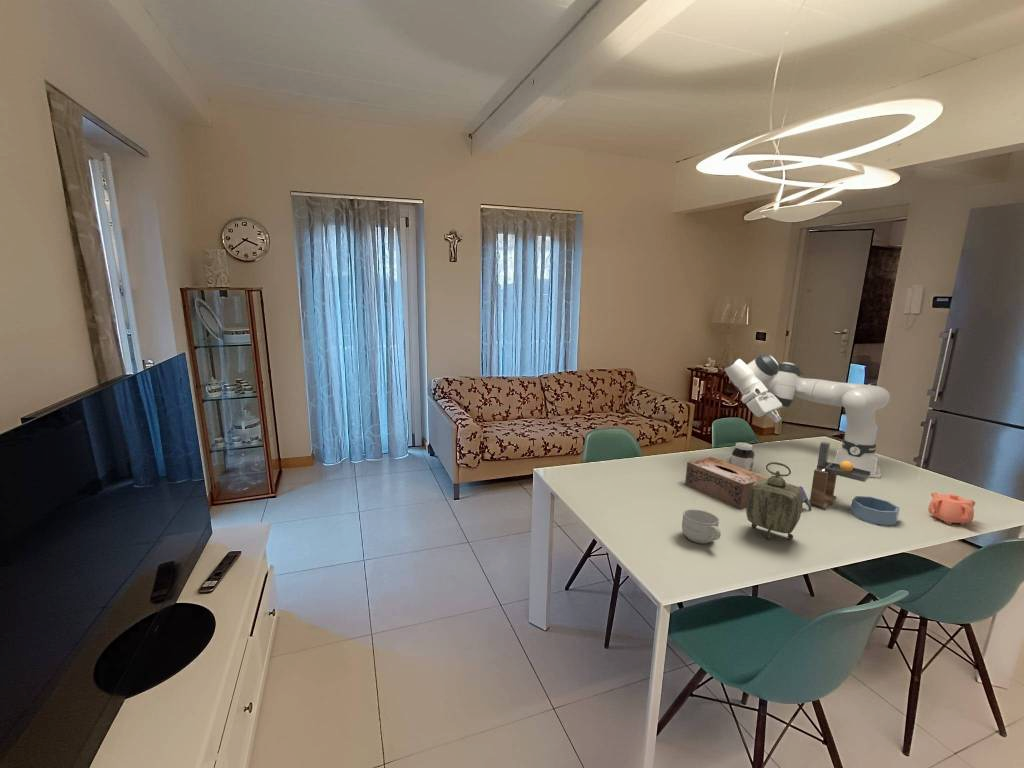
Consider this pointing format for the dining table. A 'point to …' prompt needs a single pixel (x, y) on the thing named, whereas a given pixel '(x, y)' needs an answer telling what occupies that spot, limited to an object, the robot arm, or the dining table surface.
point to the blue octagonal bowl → (875, 510)
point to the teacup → (700, 526)
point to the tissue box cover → (721, 480)
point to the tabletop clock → (774, 503)
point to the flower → (805, 498)
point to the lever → (838, 466)
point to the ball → (846, 466)
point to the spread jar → (742, 456)
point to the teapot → (951, 508)
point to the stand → (822, 489)
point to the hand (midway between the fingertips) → (778, 421)
